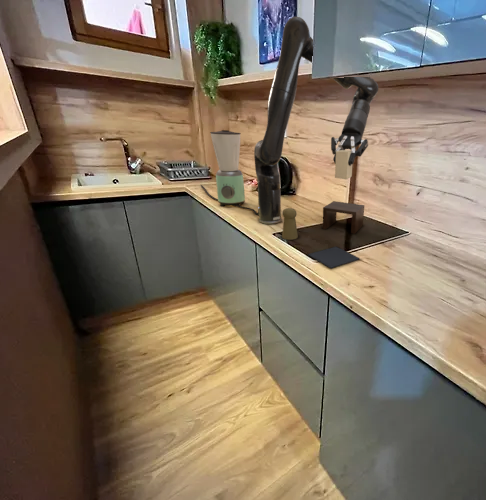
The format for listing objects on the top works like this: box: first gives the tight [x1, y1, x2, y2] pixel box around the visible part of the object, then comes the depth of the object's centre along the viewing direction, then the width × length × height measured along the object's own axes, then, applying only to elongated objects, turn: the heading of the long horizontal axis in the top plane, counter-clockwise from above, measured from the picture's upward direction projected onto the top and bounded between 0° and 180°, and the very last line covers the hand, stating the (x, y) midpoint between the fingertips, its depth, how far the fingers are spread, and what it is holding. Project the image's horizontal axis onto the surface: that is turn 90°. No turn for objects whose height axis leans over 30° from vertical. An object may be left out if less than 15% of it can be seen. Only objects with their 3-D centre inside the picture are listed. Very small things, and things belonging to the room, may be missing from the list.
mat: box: [307, 246, 360, 270], centre depth 100 cm, size 12×12×1 cm
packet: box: [334, 149, 354, 180], centre depth 107 cm, size 4×6×9 cm
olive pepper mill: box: [281, 207, 299, 241], centre depth 113 cm, size 6×6×11 cm
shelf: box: [322, 200, 365, 235], centre depth 127 cm, size 12×14×9 cm
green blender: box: [209, 129, 246, 207], centre depth 149 cm, size 19×13×35 cm
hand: (342, 163), depth 105 cm, fingers closed on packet, 4 cm apart
